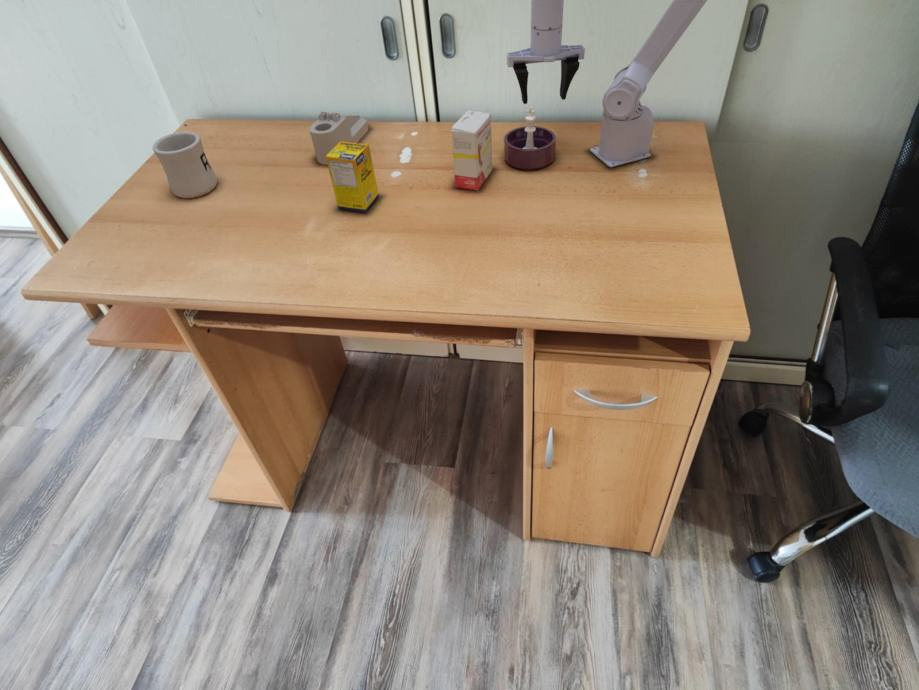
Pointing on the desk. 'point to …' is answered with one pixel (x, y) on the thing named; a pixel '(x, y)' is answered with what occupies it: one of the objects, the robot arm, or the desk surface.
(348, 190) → the supplement box
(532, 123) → the chess piece
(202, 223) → the desk surface
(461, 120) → the ink box
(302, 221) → the desk surface
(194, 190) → the mug
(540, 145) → the bowl
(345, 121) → the angled bracket with hole
